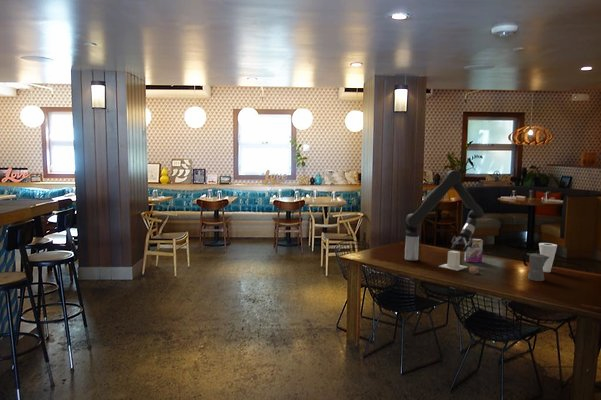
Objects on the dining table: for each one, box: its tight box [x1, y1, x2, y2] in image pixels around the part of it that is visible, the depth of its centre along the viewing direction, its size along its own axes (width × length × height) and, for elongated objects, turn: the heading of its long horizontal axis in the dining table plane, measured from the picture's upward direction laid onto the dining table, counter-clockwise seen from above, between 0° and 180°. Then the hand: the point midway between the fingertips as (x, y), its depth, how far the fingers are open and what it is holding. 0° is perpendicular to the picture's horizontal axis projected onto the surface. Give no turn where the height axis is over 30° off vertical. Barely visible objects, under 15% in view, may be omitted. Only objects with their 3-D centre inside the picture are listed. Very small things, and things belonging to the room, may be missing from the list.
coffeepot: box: [521, 250, 549, 282], centre depth 277 cm, size 15×9×18 cm, turn 54°
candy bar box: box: [464, 238, 484, 263], centre depth 320 cm, size 11×5×16 cm, turn 84°
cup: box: [538, 242, 558, 273], centre depth 295 cm, size 11×11×18 cm
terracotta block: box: [468, 265, 479, 275], centre depth 290 cm, size 4×4×4 cm
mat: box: [438, 263, 468, 272], centre depth 306 cm, size 14×14×1 cm
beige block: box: [446, 250, 461, 268], centre depth 305 cm, size 6×6×10 cm
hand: (458, 249), depth 308 cm, fingers open, 8 cm apart
